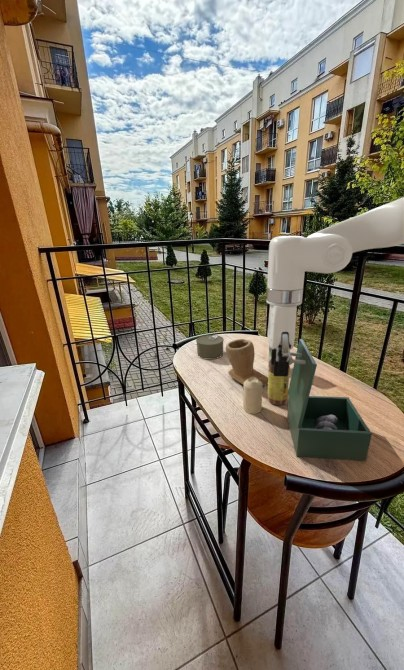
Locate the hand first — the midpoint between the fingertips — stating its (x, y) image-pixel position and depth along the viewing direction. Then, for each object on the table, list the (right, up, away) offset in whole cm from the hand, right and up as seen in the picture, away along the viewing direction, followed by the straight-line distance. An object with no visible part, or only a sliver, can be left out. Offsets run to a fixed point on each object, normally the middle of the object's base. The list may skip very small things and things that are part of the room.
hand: (279, 369), depth 67 cm
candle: (-3, -14, +18) cm, 23 cm away
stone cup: (-3, -8, +34) cm, 35 cm away
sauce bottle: (+5, -13, +22) cm, 26 cm away
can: (-15, 0, +58) cm, 60 cm away
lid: (+6, -3, 0) cm, 6 cm away
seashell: (+14, -18, +5) cm, 23 cm away
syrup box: (+11, -5, +42) cm, 44 cm away
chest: (+13, -18, +5) cm, 23 cm away
